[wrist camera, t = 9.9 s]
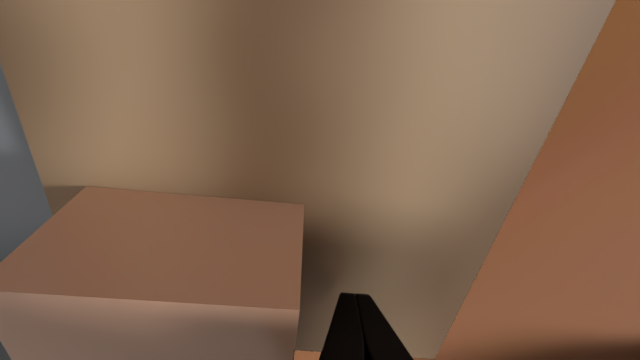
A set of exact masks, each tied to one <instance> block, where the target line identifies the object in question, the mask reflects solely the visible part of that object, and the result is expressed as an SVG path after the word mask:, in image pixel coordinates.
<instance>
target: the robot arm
mask: <svg viewBox="0 0 640 360" xmlns="http://www.w3.org/2000/svg"><path fill="white" fill-rule="evenodd" d="M319 360H414V359H413V358H412V356H411V355H410V353H409V352H408V350H407V349H406V347H405V346H404V345H403V343H402V342H401V340H400V339H399V337H398V336H397V334H396V333H395V331H394V330H393V328H392V327H391V325H390V324H389V322H388V321H387V319H386V318H385V316H384V315H383V313H382V312H381V310H380V309H379V308H378V306H377V305H376V303H375V302H374V300H373V299H372V297H371V296H370V295H369V294H360V293H356V294H354V293H346V292H341V293H340V295H339V297H338V301H337V304H336V307H335V310H334V313H333V317H332V320H331V323H330V326H329V329H328V333H327V336H326V339H325V342H324V345H323V349H322V352H321V355H320V358H319Z"/></svg>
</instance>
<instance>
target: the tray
mask: <svg viewBox="0 0 640 360" xmlns="http://www.w3.org/2000/svg"><path fill="white" fill-rule="evenodd" d="M52 216H53V215H52V212H51V209H50V206H49V203H48V200H47V197H46V194H45V191H44V189H43V186H42V183H41V180H40V177H39V174H38V171H37V168H36V165H35V162H34V159H33V157H32V154H31V151H30V148H29V145H28V142H27V139H26V136H25V133H24V130H23V128H22V125H21V122H20V119H19V116H18V113H17V110H16V107H15V104H14V101H13V98H12V96H11V93H10V90H9V87H8V84H7V81H6V78H5V75H4V72H3V69H2V66H1V64H0V262H1V261H3V260H4V259H5V258H6V257H7V256H8V255H9V254H11V253H12V252H13V251H14V250H15V249H16V248H17V247H18V246H20V245H21V244H22V243H23V242H24V241H25V240H26V239H27V238H29V237H30V236H31V235H32V234H33V233H34V232H35V231H36V230H38V229H39V228H40V227H41V226H42V225H43V224H44V223H45V222H47V221H48V220H49V219H50V218H51V217H52ZM0 360H11V358H10V356H9V355H8V353H7V351H6V350H5V348H4V346H3V345H2V343H1V341H0Z"/></svg>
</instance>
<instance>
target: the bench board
mask: <svg viewBox="0 0 640 360" xmlns="http://www.w3.org/2000/svg"><path fill="white" fill-rule="evenodd" d="M615 1H616V0H0V64H1V66H2V69H3V72H4V75H5V78H6V81H7V84H8V87H9V90H10V93H11V96H12V98H13V101H14V104H15V107H16V110H17V113H18V116H19V119H20V122H21V125H22V128H23V130H24V133H25V136H26V139H27V142H28V145H29V148H30V151H31V154H32V157H33V159H34V162H35V165H36V168H37V171H38V174H39V177H40V180H41V183H42V186H43V189H44V191H45V194H46V197H47V200H48V203H49V206H50V209H51V212H52V215H54V214H56V213H57V212H58V211H59V210H60V209H61V208H62V207H63V206H65V205H66V204H67V203H68V202H69V201H70V200H71V199H72V198H74V197H75V196H76V195H77V194H78V193H79V192H80V191H82V190H83V189H84V188H85V187H86V186H91V187H102V188H114V189H126V190H138V191H150V192H162V193H173V194H185V195H197V196H209V197H221V198H233V199H244V200H256V201H268V202H280V203H292V204H304V223H303V246H302V270H301V293H300V312H299V320H298V328H297V336H296V344H295V350H301V351H317V352H322V349H323V345H324V342H325V339H326V336H327V333H328V329H329V326H330V323H331V320H332V317H333V313H334V310H335V307H336V304H337V301H338V297H339V295H340V293H341V292H346V293H354V294H356V293H360V294H369V295H370V296H371V297H372V299H373V300H374V302H375V303H376V305H377V306H378V308H379V309H380V310H381V312H382V313H383V315H384V316H385V318H386V319H387V321H388V322H389V324H390V325H391V327H392V328H393V330H394V331H395V333H396V334H397V336H398V337H399V339H400V340H401V342H402V343H403V345H404V346H405V347H406V349H407V350H408V352H409V353H410V355H411V356H412V358H428V359H435V357H436V355H437V353H438V351H439V349H440V347H441V345H442V343H443V341H444V339H445V337H446V335H447V333H448V331H449V329H450V328H451V326H452V324H453V322H454V320H455V318H456V316H457V314H458V312H459V310H460V308H461V306H462V304H463V302H464V300H465V298H466V296H467V294H468V292H469V290H470V288H471V286H472V284H473V282H474V280H475V278H476V276H477V274H478V272H479V270H480V268H481V266H482V264H483V262H484V260H485V258H486V256H487V254H488V252H489V250H490V248H491V246H492V244H493V242H494V240H495V238H496V237H497V235H498V233H499V231H500V229H501V227H502V225H503V223H504V221H505V219H506V217H507V215H508V213H509V211H510V209H511V207H512V205H513V203H514V201H515V199H516V197H517V195H518V193H519V191H520V189H521V187H522V185H523V183H524V181H525V179H526V177H527V175H528V173H529V171H530V169H531V167H532V165H533V163H534V161H535V159H536V157H537V155H538V153H539V151H540V149H541V147H542V145H543V144H544V142H545V140H546V138H547V136H548V134H549V132H550V130H551V128H552V126H553V124H554V122H555V120H556V118H557V116H558V114H559V112H560V110H561V108H562V106H563V104H564V102H565V100H566V98H567V96H568V94H569V92H570V90H571V88H572V86H573V84H574V82H575V80H576V78H577V76H578V74H579V72H580V70H581V68H582V66H583V64H584V62H585V60H586V58H587V56H588V54H589V53H590V51H591V49H592V47H593V45H594V43H595V41H596V39H597V37H598V35H599V33H600V31H601V29H602V27H603V25H604V23H605V21H606V19H607V17H608V15H609V13H610V11H611V9H612V7H613V5H614V3H615Z"/></svg>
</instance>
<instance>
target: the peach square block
mask: <svg viewBox="0 0 640 360" xmlns="http://www.w3.org/2000/svg"><path fill="white" fill-rule="evenodd" d="M303 223H304V204H292V203H280V202H268V201H256V200H244V199H233V198H221V197H209V196H197V195H185V194H173V193H162V192H150V191H138V190H126V189H114V188H102V187H91V186H86V187H85V188H84V189H83V190H82V191H80V192H79V193H78V194H77V195H76V196H75V197H74V198H72V199H71V200H70V201H69V202H68V203H67V204H66V205H65V206H63V207H62V208H61V209H60V210H59V211H58V212H57V213H56V214H54V215H53V216H52V217H51V218H50V219H49V220H48V221H47V222H45V223H44V224H43V225H42V226H41V227H40V228H39V229H38V230H36V231H35V232H34V233H33V234H32V235H31V236H30V237H29V238H27V239H26V240H25V241H24V242H23V243H22V244H21V245H20V246H18V247H17V248H16V249H15V250H14V251H13V252H12V253H11V254H9V255H8V256H7V257H6V258H5V259H4V260H3V261H1V262H0V341H1V343H2V345H3V346H4V348H5V350H6V351H7V353H8V355H9V356H10V358H11V360H294V352H295V344H296V336H297V328H298V320H299V312H300V293H301V270H302V246H303Z"/></svg>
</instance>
